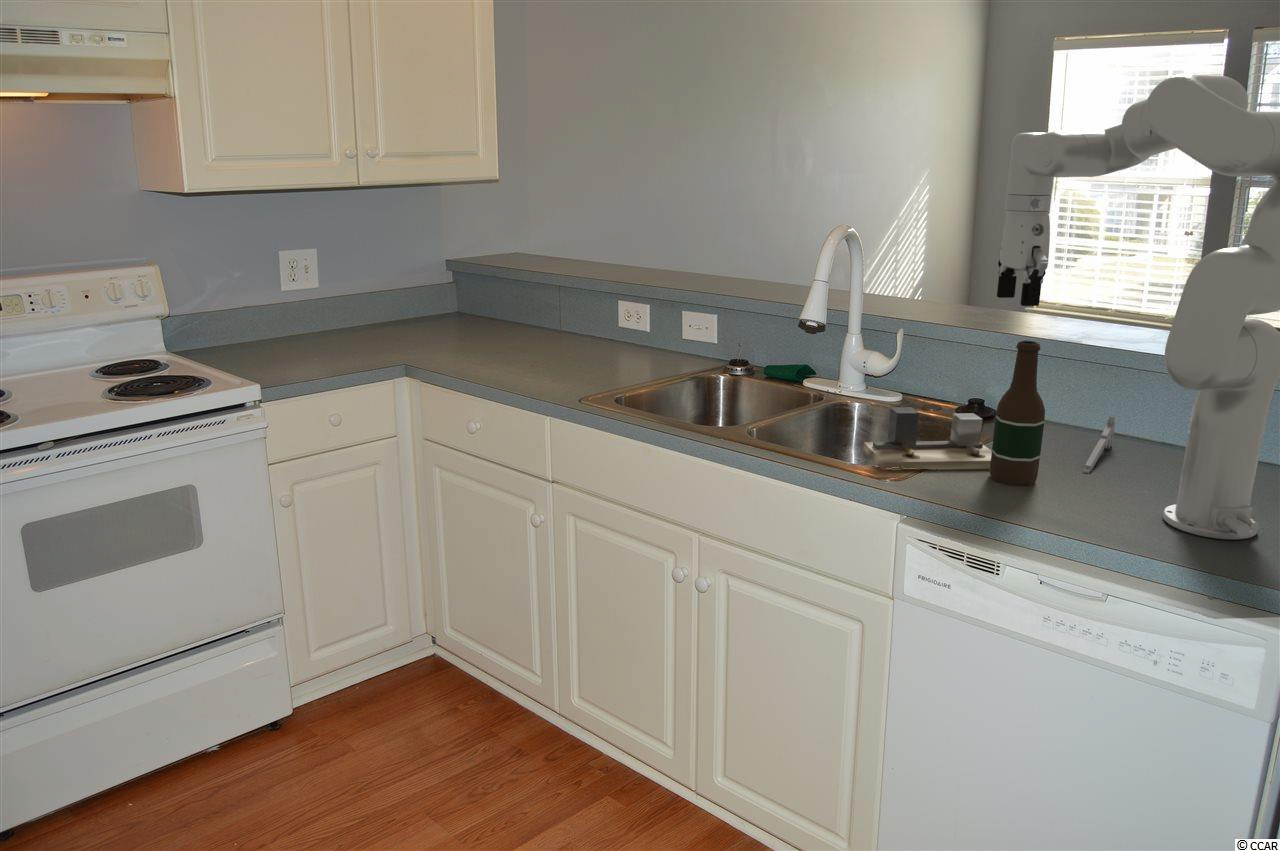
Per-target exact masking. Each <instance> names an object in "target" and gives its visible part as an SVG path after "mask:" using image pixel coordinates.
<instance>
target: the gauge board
mask: <svg viewBox="0 0 1280 851" xmlns="http://www.w3.org/2000/svg"><path fill="white" fill-rule="evenodd" d="M983 421H984V420H983V418H981V417H980V416H979V415H978V414H975V413H974V412H973V413H971V412H970V413H969V412H967V413H952V420H951V430H950V440H933V441H931V440H930V441H929V440H926V441H922V440H921V441H920V440H919V441H917V440H916V445H908V446H909V447H910V448H911V449H913V450H914V456H910V455H908V452H907V451H906V450H905V449H904V448H903V445H894V444H893V443H892V442H891V441H863V447H862V450H863V451H864V453H865V454H866V455H867V456H868V457H870V459H871V460H872V461H873V462H874V463H875V464H876V465H877V466H878V467H879V468H880V469H881V468H882V469H881V470H882V471H894V470H893V469H903V468H917V469H929V470H930V469H931V470H935V471H937V470H990V463H991V454H992V449H991V448H989V447H987V446H986V445H985V444H983V443H982V442H981V437H982V427H983ZM902 466H903V467H902ZM892 467H899V468H892ZM886 468H892V469H886ZM936 469H937V470H936Z"/></svg>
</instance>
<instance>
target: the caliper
mask: <svg viewBox="0 0 1280 851" xmlns="http://www.w3.org/2000/svg"><path fill="white" fill-rule="evenodd" d="M1115 419H1116V417H1114V416H1109V417H1108V419H1107V424H1106V426H1104V429H1103V431H1102V433H1101V434H1100V438H1099V440H1098V442H1097V443H1096V445H1095V446H1094V449H1093V450H1092V452H1091V453H1090V456H1089V458H1088V459H1087V461H1086V463H1085V464H1084V468H1083V470H1082V473H1084V474H1090V473H1091V472H1092V470H1093V468H1094V467H1095V465H1096V464H1097V461H1099V460H1098V459H1099V458H1100V456H1101V455H1102V452H1103V451H1104V449H1106V448H1107V450H1110V449H1111V447H1112V445H1113V442H1114V441H1113V440H1114V434H1115V426H1116V420H1115Z"/></svg>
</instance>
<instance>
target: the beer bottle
mask: <svg viewBox="0 0 1280 851" xmlns="http://www.w3.org/2000/svg"><path fill="white" fill-rule="evenodd" d="M1016 348H1017V351H1016V352H1017V353H1016V359H1015V363H1014V364H1015V365H1014V369H1013V375H1012V380H1011V382H1010V386H1009V388H1008V389H1007V390H1006V391H1005V392H1004V394H1003V395H1002V396H1001V398H1000V400H999V402H998V404H997V408H996V411H995V412H996V413H995V419H994V420H995V421H994V428H993V429H994V430H993V438H992V447H991V451H992V454H991V463H990V469H989V475H990V477H991V478H992V479H993V480H994V481H995V482H996V483H1000V484H1004V485H1007V486H1014V487H1016V486H1017V487H1018V486H1019V487H1027V486H1030V485H1033V484H1034V483H1036V482H1037V478H1038V474H1039V470H1040V469H1039V467H1040V460H1041V452H1042V444H1043V437H1044V436H1043V435H1044V428H1045V421H1046V420H1045V418H1046V416H1045V415H1046V410H1045V405H1044V401H1043V399H1042V397H1041V396H1040V394H1039V392H1038V384H1037V381H1038V380H1037V378H1038V365H1039V364H1038V361H1039V360H1038V359H1039V351H1041V344H1040V343H1039V342H1036V341H1033V340H1022V341H1018V342H1017V344H1016Z"/></svg>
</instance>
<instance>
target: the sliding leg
mask: <svg viewBox="0 0 1280 851" xmlns="http://www.w3.org/2000/svg"><path fill="white" fill-rule="evenodd" d="M919 414H920V413H919V412H918V411H917V410H916V409H914V408H913V407H912V406H908V407H907V406H905V407H904V406H903V407H902V406H901V407H900V406H899V407H893V406H892V407H889V418H888V419H889V420H888V428H887V429H888V430H887V440H889V442H892V443H893V444H894V445H903V448H904V449H905V450H906V451H907V452H908V455H910V456H914V450H913V449H911V448H910V447H909V446H908V445H916V441H917V436H918V435H917V434H918V426H919V416H920V415H919Z"/></svg>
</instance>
